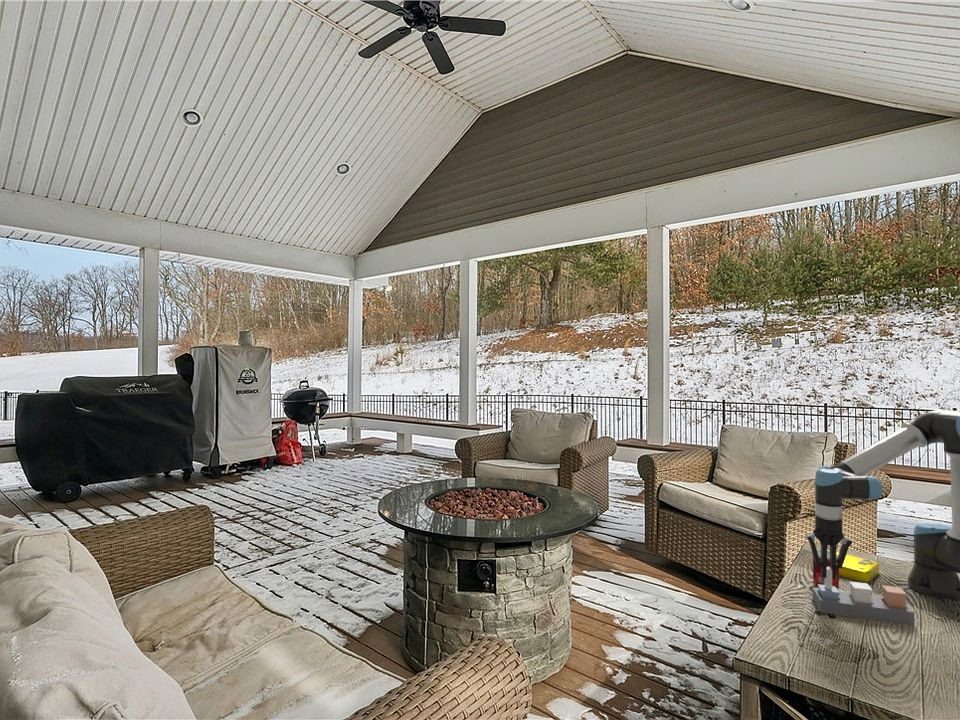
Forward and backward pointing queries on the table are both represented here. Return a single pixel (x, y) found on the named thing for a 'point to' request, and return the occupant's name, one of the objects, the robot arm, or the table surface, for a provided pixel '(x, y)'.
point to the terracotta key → (894, 596)
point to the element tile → (859, 568)
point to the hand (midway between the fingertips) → (828, 587)
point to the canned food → (817, 571)
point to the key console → (863, 608)
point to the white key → (860, 592)
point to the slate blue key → (828, 592)
